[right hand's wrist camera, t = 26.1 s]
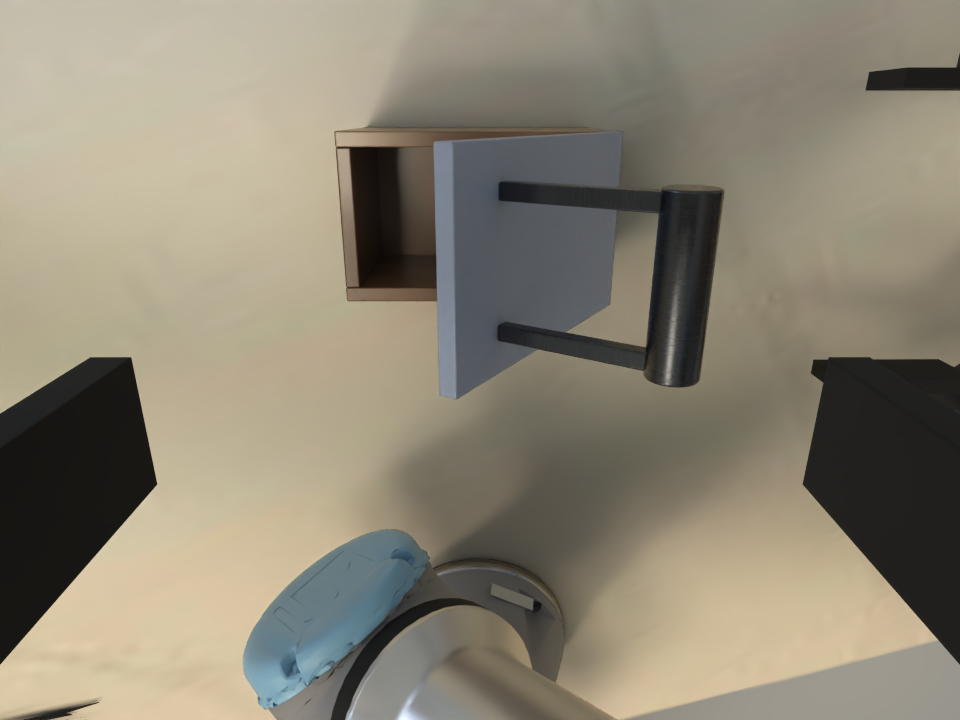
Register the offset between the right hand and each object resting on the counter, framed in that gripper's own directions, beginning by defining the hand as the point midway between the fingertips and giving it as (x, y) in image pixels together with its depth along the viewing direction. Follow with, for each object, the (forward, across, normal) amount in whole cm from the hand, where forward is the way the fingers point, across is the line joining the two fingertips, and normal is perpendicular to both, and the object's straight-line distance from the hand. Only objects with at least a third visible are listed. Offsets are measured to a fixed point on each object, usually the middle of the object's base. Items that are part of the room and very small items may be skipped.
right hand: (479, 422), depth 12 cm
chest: (+35, 0, 0) cm, 35 cm away
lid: (+18, -3, 0) cm, 18 cm away
